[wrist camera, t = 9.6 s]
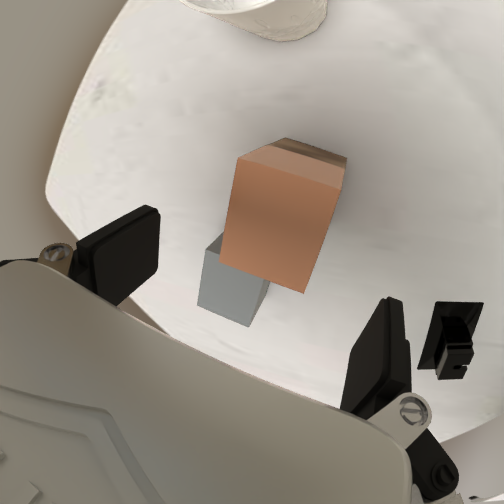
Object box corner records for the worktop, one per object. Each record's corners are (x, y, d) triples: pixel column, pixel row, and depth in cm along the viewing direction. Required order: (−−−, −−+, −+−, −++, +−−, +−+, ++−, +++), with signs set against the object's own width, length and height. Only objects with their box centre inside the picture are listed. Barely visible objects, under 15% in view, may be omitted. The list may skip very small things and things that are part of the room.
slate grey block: (282, 244, 27) (265, 272, 22) (265, 295, 30) (248, 327, 25) (230, 225, 27) (205, 249, 23) (219, 276, 30) (197, 305, 26)
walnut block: (347, 158, 21) (344, 170, 17) (323, 225, 24) (315, 253, 20) (285, 137, 22) (267, 145, 18) (267, 205, 25) (247, 227, 21)
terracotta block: (345, 168, 17) (341, 189, 13) (316, 252, 20) (303, 293, 16) (267, 144, 18) (237, 157, 14) (248, 227, 21) (218, 262, 17)
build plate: (459, 373, 27) (464, 403, 23) (405, 374, 29) (405, 405, 25) (492, 285, 21) (508, 314, 17) (428, 284, 24) (436, 315, 20)
